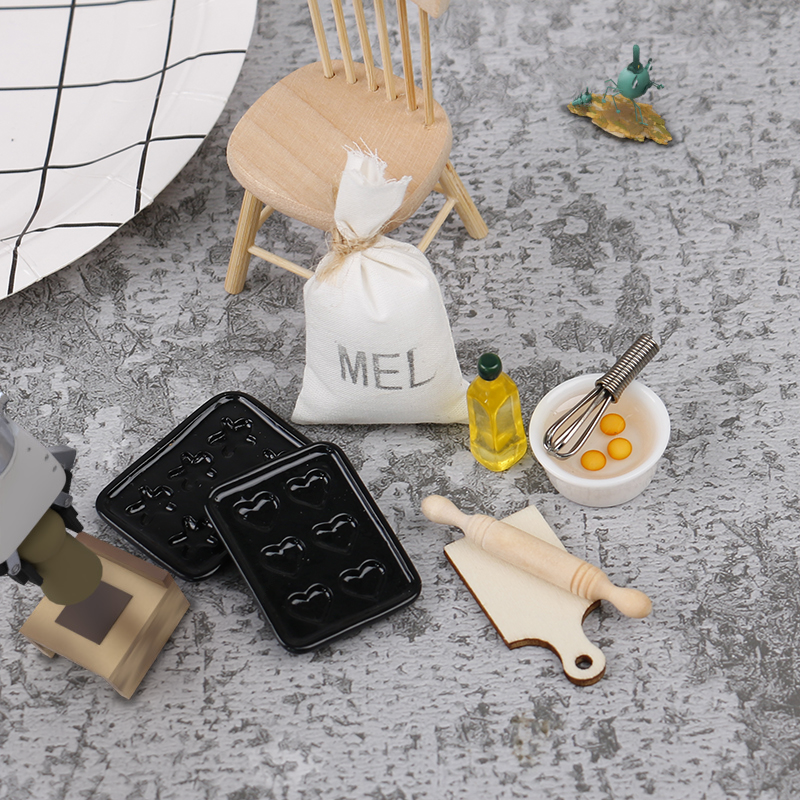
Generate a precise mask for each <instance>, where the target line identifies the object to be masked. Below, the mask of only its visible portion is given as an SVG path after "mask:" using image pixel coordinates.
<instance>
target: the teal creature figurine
mask: <svg viewBox="0 0 800 800" xmlns="http://www.w3.org/2000/svg"><path fill="white" fill-rule="evenodd" d="M640 55H641V48H640V46H639V45H638V44H637V43H636V44H633V45H632V61H631V62H630V63H628V64H627V66H625V67H624V68H623V69H622V70H621V71H620V73H619V74H618V77H617V81H616V82H615V81H614V80H613V79H612V78H610V79H607V80H604V82H603V83H605V84H606V83H608V82H611V83H613V85H615V87H613V86H606V90H605V92H603V93H602V94H601V93H594V92H593V90H591V91H590V92H589V86H586V89H585V92H584V93H583V92H580V96H579V95H577V96H575V97H574V98H573V100H572V101H570V102H569V104H568V105H567V106H566V107H567V108H568V110H569V112H570V113H572V114H575V115H578V116H579V117H581V116H582V117H589V118H591V122H592V123H593V124H594V125H595V126H598V127H599V128H601V129H602V130H604V131H605V132H607V133H609V134H611V135H613V136H616V137H618V138H620V139H624V138H628V139H630V140H634V141H639V142H645V138H646V139H651V140H653V141H654V142H655V143H658V144H661V145H669V143H668V142H669V141H673V136H672V135H671V132H669V130H667V129H666V126H665V125H666V121H665V119H663V118H662V116H661V115H660V114H658V113H657V111H656V110H655V109H653V108H654V107H653V105H652V104H649V103H643V102H639V101H636V100H635V99H638V98H641V97H642V96H644V95H645V94H646V93H647V92H648V90H649V89H651V88H652V86H654V87H655V88H656V90H661V89H665V86H664V85H663V84H662V83H660V84H658V83H656V82H655V81H656V80H655V78H653V81H652V80H651V77H650V74H649V73H650V72H651V71H653V65H652V62H653V57H649V58H648V60H647V63H646V65H645V66H644V64H643V63H642V62H641V61H640V57H641V56H640ZM609 89H613V91H612V93H614V94H607V93H608V90H609ZM616 91H618V92H616Z"/></svg>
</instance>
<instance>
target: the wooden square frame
mask: <svg viewBox="0 0 800 800" xmlns="http://www.w3.org/2000/svg"><path fill="white" fill-rule="evenodd" d="M74 537H75V538H76V539H77V540H78V541H80V542H81V543H82V544H84V545H85V546H86V547H87V548H89V549H90V550H91V551H93V552H94V553H95V554H96V555H97V556H98V557H99V559H100V561H101V563H102V566H103V574H102V578H101V581H100V584H99V585H98V587H97V588H96V590H95V591H94V592H93V593H92V594H91V595H90V596H89V597H88V598H86V599H85V600H83V601H81V602H79V603H77V604H72V605H67V606H65V605H58V604H55V603H53V602H51V601H49V599H48V598H47V597H46V596H45V595H43V597H42V599H40V601H39V602H38V604H37V605H36V607H35V608H34V609H33V611H32V612H31V613H30V615H29V616H28V618H27V619H26V620H25V622H24V623H23V625H22V626H21V627H20V629H18V632H19V633H20V634H21V635H22V636H23V637H24V639H26V640H27V641H29V642H30V643H31V644H32V645H33V646H34V647H35V648H36V649H37V650H39V652H41V653H42V654H43V655H44V656H47V657H48V658H50V659H53V658H54V656H55V655H56V654H57V655H59V656H61V657H62V658H64V659H67V660H68V661H70V662H72V663H74V664H76V665H78V666H80V667H81V668H83V669H86V670H87V671H89V672H91V673H93V674H95V675H97V676H98V677H101V678H102V679H104V681H105V682H107V684H108V685H110V686H111V688H113V689H114V690H115V692H117V694H119V695H120V696H122V697H123V698H125V699H126V700H130V699H131V698H132V696H133V695H134V693H135V692H136V690H137V688H138V687H139V686H140V684H141V682H142V681H143V680H144V677H146V674H147V673H148V671H149V670H150V668H151V667H152V665H153V664H154V662H155V660H156V659H157V657H158V656H159V655H160V653H161V651H162V650H163V648H164V647H165V645H166V644H167V642H168V641H169V639H170V638H171V636H172V634H173V633H174V631H175V630H176V628H177V626H178V625H179V623H180V622H181V620H182V619H183V617H184V615H185V614H186V612H187V611H188V610H189V608H190V607H191V603H190V601H189V600H188V598H187V597H186V596H185V594H184V593H183V591H182V589H181V588H180V587H179V585H178V584H177V582H176V581H175V579H174V578H173V576H172V574H171V573H170V571H167V570H166V569H164V568H162V567H160V566H157V565H155V564H153V563H151V562H149V561H146V560H144V559H142V558H140V557H138V556H136V555H134V554H131V553H130V552H128V551H125V550H124V549H121V548H119V547H117V546H115V545H113V544H111V543H109V542H106V541H104V540H103V539H100V538H98V537H96V536H94V535H92V534H90V533H88V532H86V531H84V530H82V532H81V533H80V532H79V533H76V536H74Z"/></svg>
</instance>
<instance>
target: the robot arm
mask: <svg viewBox="0 0 800 800" xmlns="http://www.w3.org/2000/svg"><path fill="white" fill-rule="evenodd" d="M10 401H11V399H10V397H9V396H8V395H7V394H6V393H4V392H2V391H1V390H0V578H1V577H3V576H6V575H7V576H8V577H9V578H10V579H11V580H12V581H14V582H16V583H17V584H19V585H21V586H23V587H24V586H26V585H27V583H28V582H29V583H31V584H33V585H34V586H35V585H36V586H37V587H39V588H40V586H41V585H42V584H43V580H44V579H43V578H42V577H41V576H40V574H39V573H38V572H37V571H36V570H35V569H34V568H33V567H32V566H31V565H30V564H29V563H28V562H26V561H24V560H22V559H20V558H19V556H18V552H17V548H18V546H19V545H20V544H21V543H22V541H23V540H24V539H25V538H26V536H27V535H28V534H29V533H30V531H31V530H32V529H33V527H34V526H35V525H36V524H37V522H38V521H39V520H40V519H41V517H42V516H43V515H44V513H45V512H46V511H47V509H48V508H51V509H53V510H55V511H56V512H57V513H58V514H59V515H60V516H61V518H62V519H63V521H64V524H65V528H66V530H69V531H72V533H73V532H74V533H75V534H78V533H79V532H80V533H81V532H82V531H84V529H85V527H84V526H83V524H82V523H81V521H80V520H79V519H78V518H77V517H78V516H79V512H78V511H77V510H76V508H75V507H74V506H73V504H72V503H73V501H74V497H73V496H72V494H70V492H71V491H70V490H71V487H72V486H71V485H72V482H73V481H72V480H73V473H72V469H73V468H74V464H75V461H76V456H77V454H78V453H77V452H78V451H77V449H75V448H73V447H71V446H69V445H67V444H58V445H50V446H49V445H48V446H44V444H42V443H41V442H40V441H39V440H38V439H37V437H35V436H34V435H33V434H32V433H30V432H29V431H28V430H27V429H25V427H23V426H21V425H20V424H19V423H18V422H17V421H15V420H14V419H12V418H10V417H9V416H7V415H5V410H6V406H7V404H8V403H9V402H10Z"/></svg>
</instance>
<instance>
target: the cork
mask: <svg viewBox="0 0 800 800" xmlns="http://www.w3.org/2000/svg"><path fill="white" fill-rule="evenodd" d="M75 537H76V536H73V535H72V534H71V533H70V532H68V531H67V528H65V524H64V521H63V519H62V518H61V516H60V515H59V514H58V513H57V512H56V511H55V510H53V509H51V508H48V509H47V511H46V512H45V513H44V515H43V516H42V517H41V519H40V520H39V521H38V522H37V524H36V525H35V526H34V527H33V529H32V530H31V531H30V533H29V534H28V535H27V536H26V538H25V539H24V540H23V541H22V543H21V544H20V545H19V546H18V548H17V552H18V556H19V558H20V559H22V560H24V561H26V562H28V563H29V564H30V565H31V566H32V567H33V568H34V569H35V570H36V571H37V572H38V573H39V574H40V576H41V577H42V578H43V579H44V580H43V584H42V585H41V586H40V587H39V588H40V589H41V591H42V594H43V596H46V597H47V598H48V599H49V601H51V602H53V603H55V604H58V605H65V606H67V605H72V604H77V603H79V602H81V601H83V600H85V599H86V598H88V597H89V596H90V595H91V594H92V593H93V592H94V591H95V590H96V588H97V587H98V585H99V584H100V581H101V578H102V574H103V566H102V563H101V561H100V559H99V557H98V556H97V555H96V554H95V553H94V552H93V551H91V550H90V549H89V548H87V547H86V546H85V545H84V544H82V543H81V542H80V541H78V540H77V539H76V538H75Z"/></svg>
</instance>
